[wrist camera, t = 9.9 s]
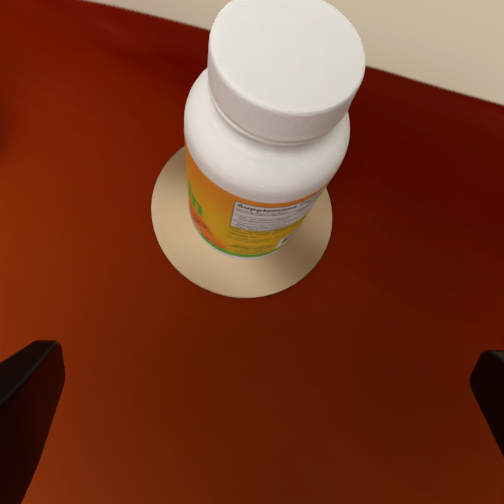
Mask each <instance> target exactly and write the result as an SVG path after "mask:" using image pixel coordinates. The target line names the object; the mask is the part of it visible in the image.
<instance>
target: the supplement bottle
mask: <svg viewBox="0 0 504 504" xmlns="http://www.w3.org/2000/svg"><path fill="white" fill-rule="evenodd" d="M365 62H366V59H365V51H364V48H363V44H362V41H361V39H360V37H359V35H358V33H357V31H356V29H355V28H354V27H353V25H352V24H351V23H350V21H349V20H348V19H347V18H346V17H345V16H344V15H343V14H342V13H341V12H340V11H339V10H337V9H336V8H335V7H333V6H332V5H330V4H329V3H327V2H325V1H324V0H232V1H231V2H229V3H228V4H227V5H226V6H225V7H224V8H223V9H222V10H221V11H220V12H219V14H218V15H217V17H216V18H215V20H214V23H213V25H212V28H211V32H210V37H209V51H208V68H206V69H205V70H204V71H203V72H202V73H201V75H200V76H199V77H198V79H197V80H196V81H195V83H194V85H193V86H192V88H191V90H190V93H189V95H188V98H187V102H186V106H185V113H184V137H185V153H186V169H187V184H188V199H189V210H190V216H191V220H192V223H193V225H194V228H195V230H196V231H197V233H198V235H199V236H200V237H201V238H202V240H203V241H204V242H205V243H206V244H207V245H209V246H210V247H211V248H212V249H214V250H215V251H217V252H219V253H221V254H223V255H226V256H228V257H232V258H237V259H258V258H262V257H265V256H268V255H270V254H272V253H274V252H276V251H278V250H279V249H280V248H282V247H283V246H284V245H285V244H286V243H287V242H288V241H289V240H290V239H291V238H292V236H293V235H294V233H295V232H296V231H297V229H298V228H299V226H300V225H301V223H302V222H303V220H304V219H305V217H306V216H307V214H308V213H309V211H310V210H311V208H312V207H313V206H314V204H315V203H316V201H317V200H318V198H319V197H320V195H321V194H322V192H323V191H324V189H325V188H326V186H327V185H328V183H329V182H330V180H331V179H332V178H333V176H334V175H335V173H336V172H337V170H338V168H339V166H340V164H341V163H342V160H343V158H344V156H345V154H346V151H347V148H348V143H349V136H350V122H349V115H348V109H349V107H350V104H351V102H352V100H353V98H354V96H355V94H356V92H357V90H358V88H359V86H360V85H361V82H362V80H363V76H364V72H365Z"/></svg>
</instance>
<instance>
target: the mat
mask: <svg viewBox="0 0 504 504" xmlns="http://www.w3.org/2000/svg"><path fill="white" fill-rule="evenodd" d="M151 212H152V222H153V226H154V231H155V234H156V237H157V240H158V242H159V245H160V247H161V249H162V250H163V252H164V254H165V256H166V257H167V258H168V260H169V261H170V263H171V264H172V265H173V266H174V267H175V268H176V269H177V270H178V271H179V272H180V273H181V274H182V275H183V276H184V277H186V278H187V279H188V280H189V281H191V282H193V283H194V284H196V285H198V286H199V287H201V288H203V289H205V290H208V291H210V292H212V293H216V294H219V295H223V296H227V297H234V298H258V297H264V296H268V295H272V294H275V293H278V292H280V291H283V290H285V289H287V288H289V287H291V286H292V285H294V284H296V283H297V282H298V281H300V280H301V279H302V278H304V277H305V276H306V275H307V274H308V273H309V272H310V271H311V270H312V269H313V268H314V267H315V265H316V264H317V263H318V261H319V260H320V258H321V257H322V255H323V253H324V251H325V249H326V247H327V244H328V241H329V238H330V234H331V229H332V207H331V202H330V198H329V194H328V191H327V189H326V188H325V189H324V191H323V192H322V194H321V195H320V197H319V198H318V200H317V201H316V203H315V204H314V206H313V207H312V208H311V210H310V211H309V213H308V214H307V216H306V217H305V219H304V220H303V222H302V223H301V225H300V226H299V228H298V229H297V231H296V232H295V233H294V235H293V236H292V238H291V239H290V240H289V241H288V242H287V243H286V244H285V245H284V246H283V247H282V248H280V249H279V250H278V251H276V252H274V253H272V254H270V255H268V256H265V257H262V258H258V259H237V258H232V257H228V256H226V255H223V254H221V253H219V252H217V251H215V250H214V249H212V248H211V247H210V246H209V245H207V244H206V243H205V242H204V241H203V240H202V238H201V237H200V236H199V235H198V233H197V231H196V230H195V228H194V225H193V223H192V220H191V216H190V210H189V199H188V184H187V169H186V153H185V146H184V147H183V148H181V149H180V150H179V151H178V152H176V153H175V154H174V155H173V156H172V157H171V158H170V160H169V161H168V162H167V163H166V165H165V166H164V168H163V169H162V171H161V173H160V175H159V177H158V179H157V182H156V184H155V187H154V191H153V195H152V205H151Z"/></svg>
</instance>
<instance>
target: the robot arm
mask: <svg viewBox="0 0 504 504" xmlns="http://www.w3.org/2000/svg"><path fill="white" fill-rule="evenodd" d="M64 382H65V367H64V361H63V355H62V348H61V345H60V343H59V342H58V341H56V340H37V341H34V342H32V343H31V344H29V345H27V346H26V347H24V348H23V349H21V350H20V351H18V352H16V353H15V354H13V355H12V356H10V357H9V358H7V359H5V360H4V361H2V362H1V363H0V504H21V503H22V501H23V498H24V496H25V494H26V491H27V489H28V487H29V485H30V482H31V480H32V478H33V475H34V473H35V471H36V468H37V466H38V463H39V460H40V458H41V455H42V452H43V449H44V446H45V442H46V439H47V436H48V433H49V430H50V427H51V424H52V421H53V417H54V414H55V411H56V408H57V405H58V402H59V399H60V395H61V392H62V389H63V386H64ZM470 387H471V389H472V392H473V394H474V396H475V398H476V400H477V402H478V404H479V406H480V408H481V411H482V413H483V415H484V417H485V419H486V421H487V423H488V425H489V428H490V430H491V432H492V434H493V436H494V438H495V440H496V442H497V444H498V446H499V448H500V450H501V452H502V454H503V456H504V351H503V350H486V351H484V352H482V353H481V355H480V357H479V359H478V361H477V363H476V365H475V367H474V370H473V372H472V374H471V376H470Z"/></svg>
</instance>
